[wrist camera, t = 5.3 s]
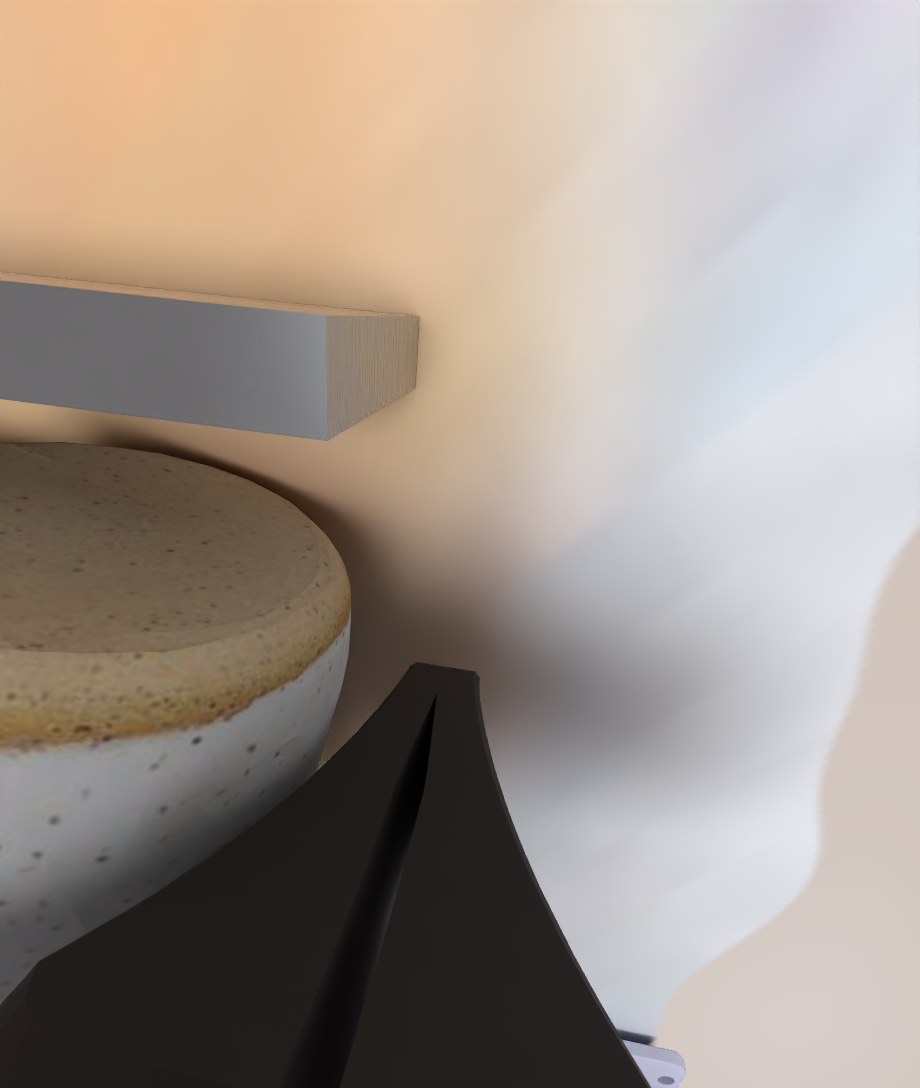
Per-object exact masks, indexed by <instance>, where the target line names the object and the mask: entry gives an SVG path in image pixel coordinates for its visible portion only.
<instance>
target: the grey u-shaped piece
mask: <svg viewBox="0 0 920 1088" xmlns="http://www.w3.org/2000/svg"><path fill="white" fill-rule="evenodd" d="M418 332H419V316H410V315H400V314H391V313H382V312H372V311H363V310H354V309H344V308H335V307H325V306H316V305H307V304H297V303H288V302H279V301H269V300H260V299H251V298H241V297H232V296H223V295H213V294H204V293H194V292H185V291H176V290H166V289H157V288H148V287H138V286H129V285H120V284H110V283H101V282H92V281H82V280H73V279H63V278H54V277H45V276H35V275H26V274H17V273H7V272H0V399H6V400H14V401H21V402H29V403H37V404H45V405H53V406H60V407H68V408H76V409H84V410H92V411H99V412H107V413H115V414H123V415H131V416H138V417H146V418H154V419H162V420H170V421H177V422H185V423H193V424H201V425H209V426H216V427H224V428H232V429H240V430H248V431H255V432H263V433H271V434H279V435H287V436H294V437H302V438H310V439H318V440H326V441H328V440H329V439H331V438H333V437H334V436H336V435H338V434H339V433H341V432H343V431H344V430H346V429H348V428H349V427H351V426H353V425H355V424H356V423H358V422H360V421H361V420H363V419H365V418H366V417H368V416H370V415H371V414H373V413H375V412H376V411H378V410H380V409H381V408H383V407H385V406H386V405H388V404H390V403H391V402H393V401H395V400H396V399H398V398H400V397H401V396H403V395H405V394H406V393H408V392H410V391H411V390H413V389H415V384H416V367H417V349H418Z"/></svg>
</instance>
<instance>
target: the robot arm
mask: <svg viewBox="0 0 920 1088" xmlns="http://www.w3.org/2000/svg"><path fill="white" fill-rule="evenodd" d="M479 679H480V677H479V676H478V675H477V673H476V672H474V671H468V670H461V669H455V668H449V667H443V666H437V665H430V664H424V663H418V662H416V663H414V664H413V665H411V666H410V668H409V669H408V671H407V672H406V673H405V675H404V676H403V678H402V679H401V680H400V682H399V683H398V684H397V686H396V687H395V688H394V690H393V691H392V692H391V693H390V695H389V696H388V697H387V698H386V699H385V701H384V702H383V703H382V704H381V705H380V707H379V708H378V709H377V710H376V711H375V712H374V713H373V715H372V716H371V717H370V718H369V719H368V720H367V721H366V722H365V723H364V725H363V726H362V727H361V728H360V729H359V730H358V731H357V732H356V733H355V734H354V736H353V737H352V738H351V739H350V740H349V741H348V742H347V743H346V744H345V745H344V746H343V747H342V748H341V749H340V750H339V751H338V752H337V753H336V754H334V755H333V756H332V757H331V758H330V759H329V760H328V761H327V762H326V763H325V764H324V765H323V766H322V767H321V768H320V769H319V770H318V771H317V772H316V773H315V774H314V775H313V776H311V777H310V778H309V779H308V780H307V781H306V782H305V783H304V784H302V785H301V786H300V787H299V788H298V789H297V790H295V791H294V792H293V793H292V794H291V795H290V796H288V797H287V798H286V799H285V800H284V801H283V802H281V803H280V804H279V805H278V806H276V807H275V808H274V809H273V810H271V811H270V812H269V813H267V814H266V815H265V816H264V817H262V818H261V819H260V820H258V821H257V822H256V823H255V824H253V825H252V826H251V827H249V828H248V829H247V830H246V831H244V832H243V833H242V834H240V835H239V836H238V837H236V838H235V839H234V840H232V841H231V842H229V843H228V844H227V845H225V846H224V847H223V848H221V849H220V850H218V851H217V852H215V853H214V854H212V855H211V856H209V857H208V858H206V859H205V860H203V861H202V862H200V863H199V864H197V865H196V866H194V867H193V868H191V869H190V870H188V871H187V872H185V873H184V874H182V875H181V876H179V877H178V878H176V879H175V880H173V881H172V882H171V883H169V884H168V885H166V886H165V887H163V888H162V889H160V890H159V891H157V892H155V893H154V894H152V895H151V896H149V897H147V898H146V899H144V900H143V901H141V902H139V903H138V904H136V905H135V906H133V907H131V908H129V909H128V910H126V911H124V912H123V913H121V914H119V915H117V916H116V917H114V918H112V919H111V920H109V921H107V922H105V923H104V924H102V925H100V926H99V927H97V928H95V929H94V930H92V931H90V932H88V933H87V934H85V935H83V936H82V937H80V938H78V939H76V940H75V941H73V942H71V943H70V944H68V945H66V946H64V947H63V948H61V949H59V950H57V951H56V952H54V953H52V954H50V955H48V956H47V957H45V958H43V959H41V960H40V961H38V962H37V964H36V965H35V966H34V967H33V968H32V970H31V971H30V972H29V973H28V974H27V976H26V977H25V978H24V979H23V980H22V981H21V982H20V983H19V984H18V986H17V987H16V988H15V989H14V990H13V991H12V992H11V993H10V994H9V995H8V996H7V997H6V999H5V1000H4V1001H3V1002H2V1003H1V1004H0V1088H678V1086H679V1085H680V1083H681V1081H682V1079H683V1078H684V1076H685V1074H686V1069H685V1065H684V1060H683V1058H682V1056H681V1055H680V1054H678V1053H677V1052H675V1051H672V1050H668V1049H663V1048H658V1047H654V1046H649V1045H644V1044H640V1043H635V1042H630V1041H626V1040H622V1039H621V1037H620V1035H619V1034H618V1032H617V1030H616V1029H615V1027H614V1025H613V1023H612V1022H611V1020H610V1018H609V1017H608V1015H607V1013H606V1012H605V1010H604V1008H603V1007H602V1005H601V1003H600V1001H599V1000H598V998H597V996H596V994H595V992H594V991H593V989H592V987H591V985H590V983H589V982H588V980H587V978H586V976H585V974H584V973H583V971H582V969H581V967H580V965H579V963H578V962H577V960H576V958H575V956H574V954H573V952H572V950H571V948H570V946H569V944H568V942H567V940H566V938H565V936H564V934H563V932H562V930H561V928H560V927H559V925H558V923H557V921H556V919H555V917H554V915H553V913H552V911H551V909H550V907H549V905H548V903H547V901H546V899H545V897H544V895H543V893H542V891H541V888H540V886H539V884H538V882H537V879H536V877H535V875H534V873H533V870H532V868H531V866H530V864H529V861H528V859H527V857H526V854H525V852H524V849H523V847H522V845H521V842H520V840H519V837H518V835H517V832H516V830H515V827H514V824H513V822H512V819H511V816H510V814H509V811H508V808H507V805H506V802H505V799H504V796H503V793H502V790H501V787H500V784H499V781H498V778H497V774H496V771H495V767H494V764H493V760H492V756H491V752H490V748H489V744H488V740H487V736H486V732H485V727H484V722H483V716H482V710H481V703H480V693H479Z"/></svg>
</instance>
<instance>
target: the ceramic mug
mask: <svg viewBox="0 0 920 1088" xmlns="http://www.w3.org/2000/svg"><path fill="white" fill-rule="evenodd" d="M350 626H351V586H350V583H349V579H348V575H347V572H346V568H345V565H344V563H343V561H342V559H341V556H340V554H339V553H338V551H337V550H336V548H335V547H334V546H333V544H332V543H331V541H330V540H329V538H328V537H327V535H326V534H325V533H324V532H323V531H322V530H321V529H320V528H319V527H318V526H317V525H316V524H315V523H314V522H313V521H312V520H310V519H309V518H308V517H307V516H306V515H305V514H304V513H302V512H301V511H300V510H299V509H298V508H297V507H295V506H294V505H293V504H292V503H291V502H289V501H287V500H286V499H284V498H283V497H281V496H279V495H277V494H275V493H273V492H271V491H269V490H267V489H265V488H263V487H261V486H260V485H258V484H256V483H254V482H252V481H250V480H247V479H244V478H242V477H239V476H236V475H233V474H231V473H228V472H225V471H222V470H219V469H217V468H214V467H211V466H207V465H203V464H199V463H196V462H192V461H188V460H184V459H180V458H176V457H172V456H168V455H164V454H160V453H154V452H147V451H140V450H133V449H126V448H119V447H110V446H99V445H87V444H75V443H64V442H49V443H0V1004H1V1003H2V1002H3V1001H4V1000H5V999H6V997H7V996H8V995H9V994H10V993H11V992H12V991H13V990H14V989H15V988H16V987H17V986H18V984H19V983H20V982H21V981H22V980H23V979H24V978H25V977H26V976H27V974H28V973H29V972H30V971H31V970H32V968H33V967H34V966H35V965H36V964H37V962H38V961H40V960H41V959H43V958H45V957H47V956H48V955H50V954H52V953H54V952H56V951H57V950H59V949H61V948H63V947H64V946H66V945H68V944H70V943H71V942H73V941H75V940H76V939H78V938H80V937H82V936H83V935H85V934H87V933H88V932H90V931H92V930H94V929H95V928H97V927H99V926H100V925H102V924H104V923H105V922H107V921H109V920H111V919H112V918H114V917H116V916H117V915H119V914H121V913H123V912H124V911H126V910H128V909H129V908H131V907H133V906H135V905H136V904H138V903H139V902H141V901H143V900H144V899H146V898H147V897H149V896H151V895H152V894H154V893H155V892H157V891H159V890H160V889H162V888H163V887H165V886H166V885H168V884H169V883H171V882H172V881H173V880H175V879H176V878H178V877H179V876H181V875H182V874H184V873H185V872H187V871H188V870H190V869H191V868H193V867H194V866H196V865H197V864H199V863H200V862H202V861H203V860H205V859H206V858H208V857H209V856H211V855H212V854H214V853H215V852H217V851H218V850H220V849H221V848H223V847H224V846H225V845H227V844H228V843H229V842H231V841H232V840H234V839H235V838H236V837H238V836H239V835H240V834H242V833H243V832H244V831H246V830H247V829H248V828H249V827H251V826H252V825H253V824H255V823H256V822H257V821H258V820H260V819H261V818H262V817H264V816H265V815H266V814H267V813H269V812H270V811H271V810H273V809H274V808H275V807H276V806H278V805H279V804H280V803H281V802H283V801H284V800H285V799H286V798H287V797H288V796H290V795H291V794H292V793H293V792H294V791H295V790H297V789H298V788H299V787H300V786H301V785H302V784H304V783H305V782H306V781H307V780H308V779H309V778H310V777H311V776H313V775H314V774H315V773H316V772H317V769H318V765H319V761H320V758H321V755H322V751H323V748H324V745H325V742H326V739H327V735H328V732H329V729H330V726H331V722H332V719H333V716H334V712H335V709H336V705H337V702H338V698H339V695H340V691H341V688H342V684H343V679H344V675H345V670H346V666H347V662H348V654H349V640H350Z"/></svg>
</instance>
